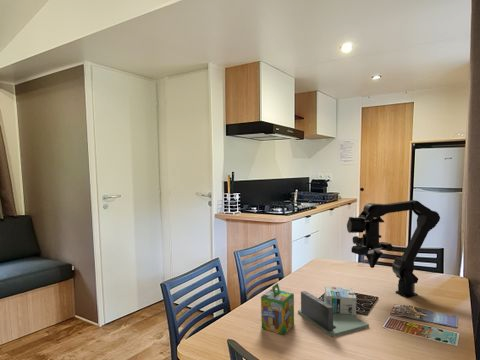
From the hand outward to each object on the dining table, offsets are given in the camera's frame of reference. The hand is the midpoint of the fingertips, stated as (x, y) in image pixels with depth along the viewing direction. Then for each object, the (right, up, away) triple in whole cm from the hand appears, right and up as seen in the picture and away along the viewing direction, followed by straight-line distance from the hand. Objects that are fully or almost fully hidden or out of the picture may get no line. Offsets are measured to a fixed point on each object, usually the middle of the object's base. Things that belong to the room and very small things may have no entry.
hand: (372, 267), depth 141 cm
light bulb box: (-13, -9, -16) cm, 23 cm away
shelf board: (-24, -13, -22) cm, 35 cm away
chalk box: (-45, -14, -27) cm, 54 cm away
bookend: (-30, -12, -25) cm, 41 cm away
